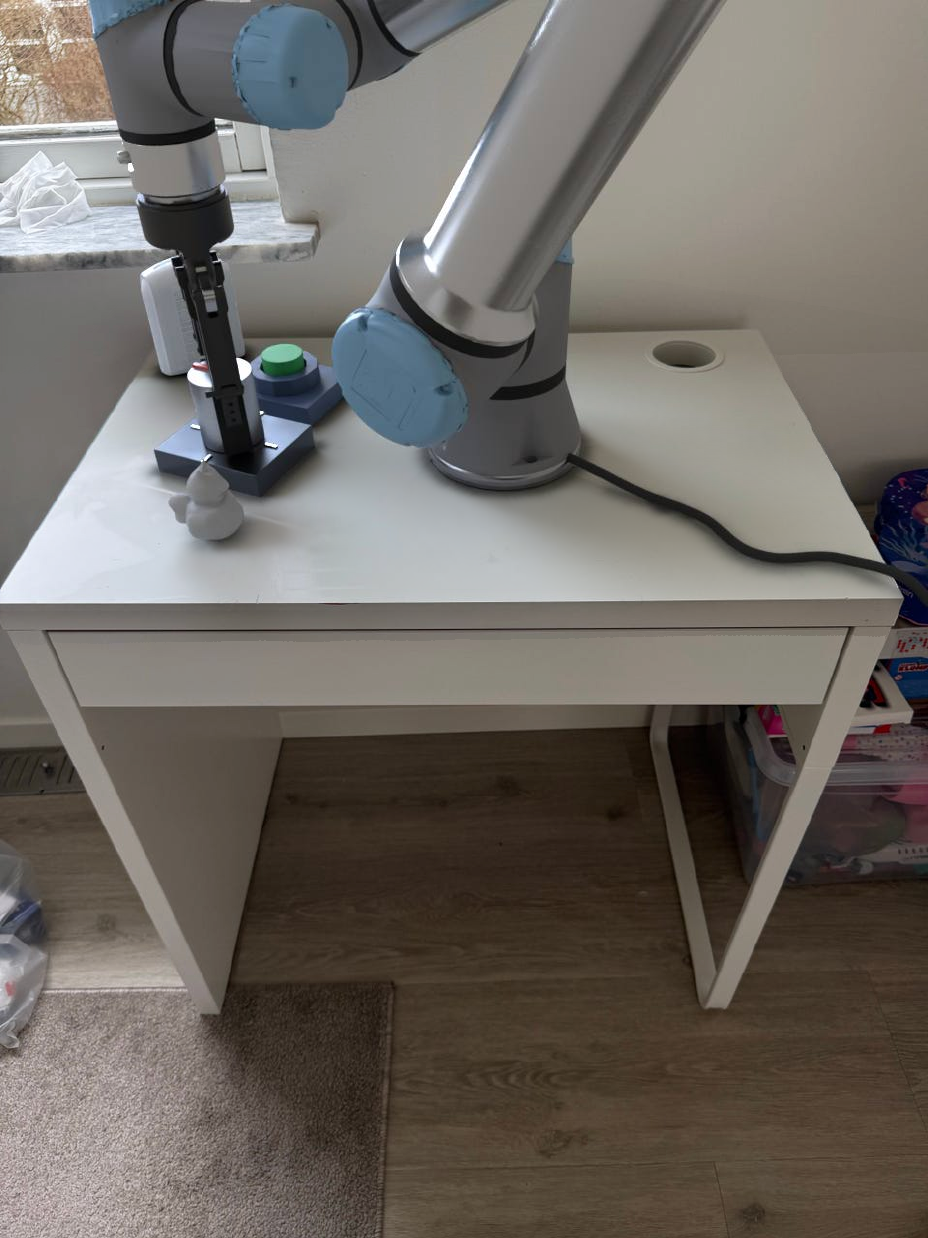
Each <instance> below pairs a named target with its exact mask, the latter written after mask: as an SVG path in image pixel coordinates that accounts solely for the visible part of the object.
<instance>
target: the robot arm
mask: <svg viewBox="0 0 928 1238" xmlns="http://www.w3.org/2000/svg"><path fill="white" fill-rule="evenodd" d="M516 1H517V0H253V1H241V2H240V1H223V0H222V1H221V0H219V1H218V0H87V5H88V11H89V17H90V23H91V28H92V33H91V35H92V39H93V41H94V42H95V44H96V47H97V51H98V55H99V59H100V61H101V62H100V63H101V66H102V70H103V75H104V79H105V83H106V87H107V90H108V95H109V98H110V102H111V106H112V110H113V115H114V118H115V122H116V126H117V131H118V134H119V137H120V138H121V144H122V147H123V148H124V149H123V150H120V151H117V153H116V160H117V162H118V163H119V164H120V165H127V166H128V167H127V169H128V173H129V177H130V182H131V185H132V188H133V189H134V191H136V192H137V193H138V194H137V197H136V198H135V204H136V209H137V213H138V218H139V221H140V224H141V225H140V226H141V230H142V232H143V237H144V239H145V241H146V242H147V243H148V244H149V245H150V246H152V247H153V248H155V249H159V250H163V251H168V252H170V251H174V252H175V255H176V256H171V257H170V258H171V261H172V266H173V270H174V273H175V276H176V278H177V281H178V284H179V286H180V290H181V293H182V297H183V299H184V301H185V302H186V305H187V310H188V314H189V316H190V318H191V323H192V327H193V332H194V333H193V338H194V339H195V340H196V342H197V344H198V346H197V351H198V353H199V354H200V356H205V358H204V359H200V362H203V361H206V364H207V368H208V372H209V376H210V381H211V385H212V386H211V387H212V388H211V390H206V391H204V392H205V396H206V398H211V397H212V399H213V403H214V408H215V412H216V417H217V421H218V426H219V430H220V434H221V439H222V443H223V448H224V452H225V455H226V456H227V455H232V454H237V453H242V452H247V451H252V450H254V449H253V444H252V439H251V434H250V429H249V424H248V419H247V414H246V409H245V404H244V399H243V394H244V386H243V385H242V382H241V377H240V372H239V367H238V363H237V358H236V353H235V348H234V343H233V338H232V333H231V328H230V324H229V319H228V314H227V313H228V311H229V308H228V303H227V299H226V293H225V290H224V285H223V283H224V280H225V276H224V272H223V267H222V264H221V261H218V256H217V254H218V253H217V250H216V249H215V250H211V249H212V248H213V247H214V246H216V245H217V244H221V243H224V242H225V241H227V240H228V239H229V238H231V236H232V235H233V233H234V231H235V223H234V217H233V212H232V206H231V200H230V195H229V191H228V189H227V187H225V185H223V183H224V182H225V181H226V177H227V176H226V170H225V164H224V163H225V162H224V158H223V153H222V148H221V142H220V137H219V130H218V127H217V124H216V120H224V121H232V122H237V123H242V124H243V123H244V124H250V125H255V126H263V127H267V128H268V129H272V130H273V129H277V130H278V131H292V130H306V131H314V130H319V129H322V128H324V127H326V126H328V125H329V124H330V123H331V122H332V121H333V120H334V119H335V117H336V112H337V111H338V110H339V109H341V107H342V106H343V104H344V101H345V99H346V95H347V93H348V92H350V91H353V90H355V89H358V88H361V87H363V86H365V85H368V84H371V83H373V82H379V81H381V80H384V79H387V78H389V77H391V76H393V75H395V74H397V73H398V72H400V71H402V70H403V69H404V68H405V67H406V66H408V65H409V64H410V63H412V61H413V60H415V59H416V58H418V57H419V56H420V55H422V54H423V53H425V52H428V51H429V50H430V49H432V48H434V47H436V46H437V45H439V44H441V43H443V42H445V41H447V40H448V39H450V38H452V37H454V36H455V35H457V34H459V33H460V32H463V31H464V30H466V29H468V28H470V27H471V26H473V25H475V24H477V23H479V22H480V21H482V20H484V19H485V18H487V17H489V16H491V15H493V14H494V13H496V12H498V11H500V10H502V9H503V8H505V7H507V6H508V5H510V4H512V3H514V2H516ZM727 1H728V0H548V2H547V4H546V6H545V8H544V10H543V12H542V14H541V15H540V17H539V20H538V21H537V23H536V25H535V27H534V30H532V33H531V35H530V37H529V39H528V41H527V43H526V44H525V47H524V49H523V50H522V53H521V54H520V56H519V58H518V59H517V62H516V64H515V66H514V68H513V70H512V72H511V73H510V76H509V78H508V80H507V82H506V83H505V85H504V88H503V89H502V91H501V93H500V95H499V97H498V99H497V101H496V102H495V105H494V106H493V108H492V111H491V112H490V115H489V116H488V119H487V121H485V124H484V126H483V128H482V131H481V132H480V134H479V136H478V138H477V140H476V142H475V144H474V146H473V148H472V150H471V152H470V154H469V155H468V157H467V159H466V162H465V163H464V165H463V167H462V169H461V171H460V173H459V175H458V176H457V179H456V181H455V183H454V185H453V187H452V189H451V190H450V192H449V195H448V196H447V198H446V200H445V202H444V204H443V206H442V208H441V210H440V212H439V213H438V216H437V218H436V219H435V221H434V224H433V225H426V226H425V225H424V226H420V227H418V228H415V229H413V230H411V231H410V232H408V233H407V234H406V235H405V237H403V239H402V241H401V242H400V244H399V246H398V247H397V250H396V251H395V254H394V255H393V257H392V259H391V261H390V264H389V266H388V267H387V269H386V272H385V273H384V276H383V277H382V279H381V281H380V283H379V286H378V288H377V290H376V292H375V293H374V295H373V296H372V297H371V299H370V300H369V302H367V304H366V305H364V307H363V306H362V307H360V308H358V309H355V310H353V312H350V313H349V315H348V316H347V317H346V318H345V321H344V322H343V323H342V324H341V325H339V328H338V329H337V331H336V332H335V334H334V337H333V340H332V344H331V365H332V366H331V367H333V371H334V375H335V378H336V380H337V382H338V383H339V385H340V386H341V388H342V394H343V396H344V397H343V398H344V399H345V401H346V402H347V404H348V405H349V407H350V408H351V410H352V411H353V413H354V414H355V415H356V416H357V417H358V418H359V419H360V421H362V422H363V423H364V424H365V425H366V426H367V427H368V428H369V429H371V430H372V431H374V432H375V433H376V434H377V435H379V436H381V437H383V439H386V440H387V441H390V442H392V443H395V444H397V445H400V446H403V447H415V448H419V449H420V448H421V449H422V448H423V449H425V448H428V456H429V458H430V461H431V462H432V464H433V466H434V467H435V468H436V469H437V470H438V471H439V472H440V473H442V474H443V475H444V476H445V477H448V478H450V479H452V480H454V481H456V482H457V483H461V484H463V485H467V486H470V487H474V488H479V489H485V490H495V491H514V490H522V489H528V488H533V487H538V486H542V485H544V484H547V483H550V482H552V481H555V480H557V479H559V478H560V477H562V476H563V475H565V474H567V473H568V472H569V471H570V470H571V469H572V468H573V467H574V466H575V467H578V468H580V469H582V470H584V471H585V472H587V473H590V474H592V475H593V476H596V477H598V478H600V479H602V480H604V481H606V482H608V483H610V484H611V485H614V486H615V487H617V488H620V489H622V490H623V491H625V492H627V493H629V494H630V495H633V496H636V497H638V498H640V499H642V500H645V501H647V502H649V503H653V504H654V505H657V506H660V507H664V508H667V509H669V510H672V511H675V512H678V513H679V514H683V515H685V516H687V517H689V518H691V519H694V520H696V521H698V522H700V523H701V524H703V525H704V526H706V527H708V529H710V530H711V531H712V532H714V534H716V535H717V537H719V538H720V539H721V540H722V541H723V542H724V543H725V544H727V545H728V546H729V547H730V548H732V549H733V550H735V551H736V552H738V553H739V554H741V555H744V556H746V557H749V558H751V559H754V560H757V561H761V562H766V563H771V564H799V563H813V562H814V563H815V562H816V563H818V562H819V563H820V562H821V563H822V562H823V563H825V562H826V563H835V564H841V565H845V566H850V567H854V568H857V569H861V570H862V569H863V570H868V571H871V572H874V573H878V574H881V575H884V576H887V577H889V578H892V579H894V580H896V581H898V582H899V583H901V584H903V585H904V586H906V587H907V588H908V589H909V590H911V592H912V593H914V595H915V596H916V597H917V598H918V599H919V601H920V602H921V604H922V605H924V606H925V607H926V608H928V589H927V588H926V587H925V586H924V585H923V584H922V583H921V582H920V581H919V580H918V579H917V578H915V576H913V575H911V574H910V573H908V572H906V571H905V570H903V569H901V568H899V567H896V566H895V565H891V564H888V563H885V562H882V561H877V560H874V559H870V558H865V557H860V556H855V555H850V554H847V553H841V552H837V551H836V552H835V551H824V550H823V551H822V550H819V551H817V550H815V551H800V552H799V551H798V552H772V551H767V550H764V549H763V550H762V549H759V548H756V547H753V546H751V545H749V544H747V543H745V542H744V541H742V540H740V539H739V538H738V537H736V536H735V535H733V533H731V532H730V531H729V530H728V529H727V528H726V527H725V526H724V525H723V524H721V523H720V522H719V521H717V519H715V518H714V517H712V516H711V515H709V514H707V513H705V512H704V511H702V510H699V509H698V508H696V507H694V506H690V505H689V504H686V503H683V502H680V501H678V500H675V499H672V498H669V497H666V496H663V495H661V494H658V493H655V492H652V491H650V490H648V489H645V488H643V487H641V486H639V485H637V484H634V483H633V482H630V481H628V480H627V479H625V478H623V477H621V476H619V475H617V474H615V473H613V472H611V471H609V470H606V469H605V468H604V467H601V466H599V465H597V464H595V463H593V462H590V461H589V460H587V459H584V458H582V457H580V453H581V444H582V442H581V441H582V432H581V427H580V422H579V419H578V415H577V413H576V408H575V406H574V405H575V404H574V402H573V399H572V396H571V393H570V389H569V386H568V383H567V378H566V377H567V360H568V359H567V358H568V346H569V345H568V343H569V326H570V311H571V310H570V309H571V297H572V296H571V293H572V279H573V278H572V277H573V265H575V258H574V257H573V235H574V233H575V232H576V230H577V228H578V227H579V226H580V224H581V223H582V221H583V220H584V218H585V216H586V215H587V213H588V212H589V210H590V209H591V207H592V206H593V204H594V203H595V201H596V200H597V198H598V197H599V195H600V194H601V192H602V191H603V189H604V188H605V186H606V185H607V183H608V182H609V181H610V179H611V178H612V176H613V174H614V173H615V171H616V170H617V168H618V167H619V165H620V164H621V162H622V161H623V159H624V158H625V156H626V155H627V153H628V152H629V150H630V148H631V147H632V146H633V144H634V142H635V141H636V139H637V138H638V137H639V135H640V134H641V132H642V130H643V129H644V127H645V126H646V124H647V123H648V122H649V120H650V118H651V117H652V115H653V113H654V112H655V111H656V109H657V108H658V106H659V105H660V103H661V102H662V100H663V98H664V97H665V96H666V94H667V92H668V91H669V90H670V88H671V86H672V85H673V83H674V82H675V81H676V79H677V77H678V76H679V74H680V72H681V71H682V70H683V68H684V67H685V65H686V64H687V62H688V61H689V59H690V58H691V56H692V55H693V53H694V51H695V50H696V49H697V47H698V46H699V44H700V43H701V41H702V39H703V38H704V36H705V35H706V33H707V32H708V30H709V29H710V27H711V25H713V23H714V21H715V20H716V19H717V17H718V15H719V14H720V12H721V11H722V9H723V8H724V6H725V4H726V3H727Z"/></svg>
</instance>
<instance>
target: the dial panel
mask: <svg viewBox="0 0 928 1238" xmlns="http://www.w3.org/2000/svg"><path fill="white" fill-rule="evenodd" d="M260 414H261V419H262V424H263V429H264V436H263V438H262V440H261V441H260V442H259V443H258V444H256V445H255V446H253V449H254V450H252V451H247V452H242V453H237V454H232V455H227V456H226V455H225V453H223V452H216V451H213V450H210V449H209V448H207V447H206V446H205V445H204V443H203V440H202V436H201V432H200V428H199V423H198V419H197V415H196V416H194V418H192V419H191V420H190V421H188V422H187V423H186V424H184V425H183V426H182V427H181V428H179V429H178V430H176V431H175V432H174V433H173V434H172V435H170V436H169V437H168V438H166V440H164V441H163V442H161V443H160V444H159V445H157V446H156V447H155V448H154V449H153V453H154V457H155V460H156V464H157V467H158V470H159V472H163V473H166V474H170V475H175V476H178V477H180V478H185V479H187V480H188V479H189V477H190V475H191V474H192V473H193V472H194V471H195V470H196V469H197V468H198V467H199V466H200V465H201V463H202V460H203V458H204V459H205V462H206V463H207V464H209V465H210V466H211V467H212V468H214V469H215V470H216V471H217V472H218V473H219V474H220V475H221V476H222V477H223V478H224V479H225V480H226V481H227V482H228V484H229V488H228V490H229V491H234V492H238V493H242V494H245V495H248V496H253V497H257V498H261V497H262V496H264V494H266V493H267V492H268V491H269V490H270V489H271V488H272V487H273V486H274V485H275V484H276V483H277V482H278V481H280V480H281V479H282V478H283V477H284V476H285V475H286V474H287V473H288V472H289V471H290V470H291V469H292V468H293V467H294V466H296V465H297V464H298V463H299V462H300V461H301V460H302V459H303V458H304V457H305V456H306V455H308V453H309V452H311V450H313V449H314V448H315V438H314V431H313V425H308V424H304V423H299V422H295V421H291V420H286V419H282V418H278V417H274V416H269V415H265V414H264V412H262V411H261V412H260Z"/></svg>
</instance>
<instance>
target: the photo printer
mask: <svg viewBox="0 0 928 1238" xmlns="http://www.w3.org/2000/svg"><path fill="white" fill-rule="evenodd" d="M218 261H221V264H222V267H223V272H224V276H225V280H224V283H223V285H224V290H225V293H226V299H227V303H228V308H229V311H228V313H227V314H228V319H229V324H230V328H231V333H232V338H233V343H234V348H235V353H236V358H239V359H240V358H241V357H244V356H245V354H246V349H245V342H244V337H243V332H242V326H241V321H240V316H239V310H238V309H239V308H238V304H237V299H236V292H235V288H234V282H233V281H234V280H233V276H232V273H231V270H230V269H231V268H230V266H229V264H228V262H227V263H223V262H224V261H222V260H221V259H219V258H218ZM139 280H140V291H141V295H142V299H143V303H144V307H145V311H146V315H147V320H148V322H149V327H150V331H151V332H150V333H151V336H152V340H153V344H154V349H155V353H156V357H157V360H158V364H159V368H160V371H161V373H162V374H164V375H166V376H170V377H171V376H177V375H182V374H187V373H188V372H189V371H190V369H191V368H193V367H192V364H194V363H195V362H197V363H201V362H200V359H204V358H205V356H200V354H199V353H198V351H197V346H198V344H197V342H196V340H195V339H194V338H193V333H194V332H193V327H192V323H191V318H190V316H189V314H188V310H187V305H186V302H185V301H184V299H183V297H182V293H181V290H180V286H179V284H178V281H177V278H176V276H175V273H174V270H173V266H172V261H171V257H169V258H166V259H164V260H161V261H160V262H157V263H155V264H154V265H152V266H150V267H148V268H147V269H145V270H143V271H142V272H141V273H140V275H139Z"/></svg>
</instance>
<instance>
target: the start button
mask: <svg viewBox="0 0 928 1238" xmlns="http://www.w3.org/2000/svg"><path fill="white" fill-rule="evenodd" d="M302 351H303V349H302V348H301V347H300V346H299V345H296V344H291V343H278V344H274V345H270V346H268V347H266V348H265V349H263V350H262V351H261V353H260V355H261V359H262V365H263V370H264V372H265V374H268V375H273V376H287V375H291V374H294V373H297V372H300V371H301V370H302V369H304V359H303V352H302Z"/></svg>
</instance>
